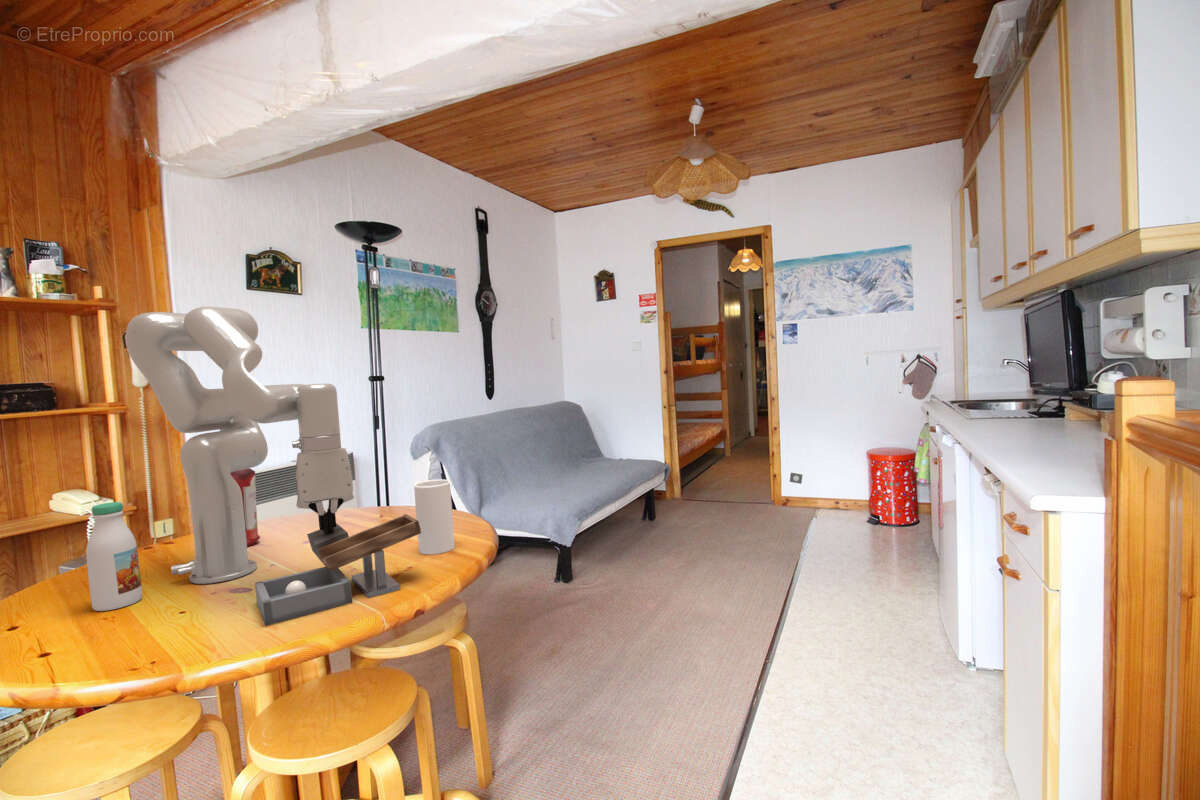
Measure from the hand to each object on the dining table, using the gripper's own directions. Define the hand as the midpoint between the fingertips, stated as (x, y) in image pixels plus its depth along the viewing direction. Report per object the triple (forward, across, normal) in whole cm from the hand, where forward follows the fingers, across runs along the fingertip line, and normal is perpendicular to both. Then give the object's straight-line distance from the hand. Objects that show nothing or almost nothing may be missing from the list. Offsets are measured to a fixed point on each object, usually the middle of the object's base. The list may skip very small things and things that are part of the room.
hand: (328, 531), depth 121 cm
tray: (+10, -7, -9) cm, 15 cm away
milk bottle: (+11, -36, +18) cm, 41 cm away
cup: (+11, +24, +5) cm, 27 cm away
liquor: (+11, -12, +47) cm, 50 cm away
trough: (+3, +6, -4) cm, 8 cm away
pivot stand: (+10, +6, -9) cm, 15 cm away
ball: (+8, -8, -9) cm, 14 cm away
